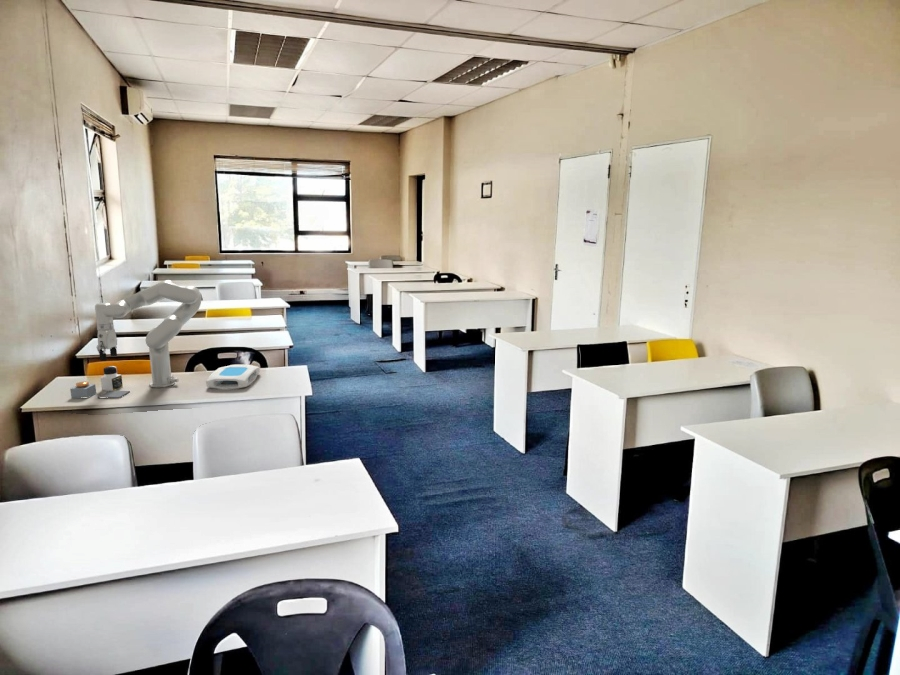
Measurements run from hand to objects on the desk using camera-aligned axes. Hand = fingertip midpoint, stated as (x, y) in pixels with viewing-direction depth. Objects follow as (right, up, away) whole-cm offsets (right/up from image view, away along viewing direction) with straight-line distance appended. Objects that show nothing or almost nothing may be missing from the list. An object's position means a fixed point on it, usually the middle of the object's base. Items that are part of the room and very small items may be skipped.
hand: (108, 358), depth 313 cm
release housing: (-8, -19, -8) cm, 22 cm away
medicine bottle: (0, -17, +4) cm, 17 cm away
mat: (+7, -19, -7) cm, 21 cm away
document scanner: (+60, -14, +19) cm, 64 cm away
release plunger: (-8, -19, -8) cm, 22 cm away
